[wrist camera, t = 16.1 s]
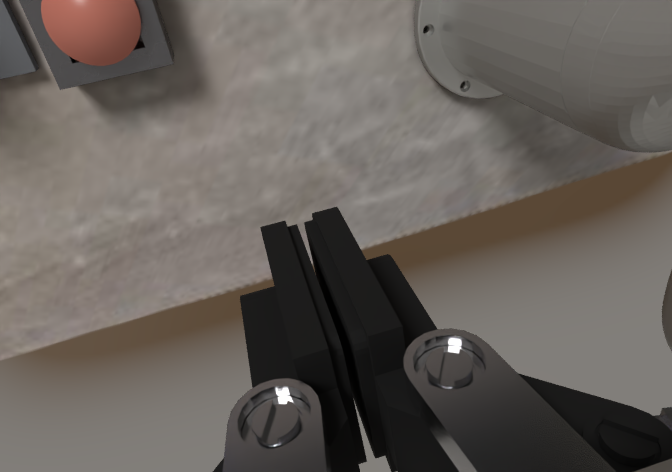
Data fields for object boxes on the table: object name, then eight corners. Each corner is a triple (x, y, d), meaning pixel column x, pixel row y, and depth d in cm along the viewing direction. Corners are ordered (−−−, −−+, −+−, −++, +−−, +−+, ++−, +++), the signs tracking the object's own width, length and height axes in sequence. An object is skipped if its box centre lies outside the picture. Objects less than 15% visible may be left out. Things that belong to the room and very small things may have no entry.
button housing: (135, -63, 31) (131, -63, 29) (174, 54, 35) (173, 63, 32) (16, -40, 30) (1, -37, 28) (69, 78, 34) (60, 89, 31)
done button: (124, -43, 30) (120, -41, 28) (155, 47, 33) (153, 55, 31) (35, -25, 30) (23, -22, 28) (74, 65, 33) (66, 74, 30)
